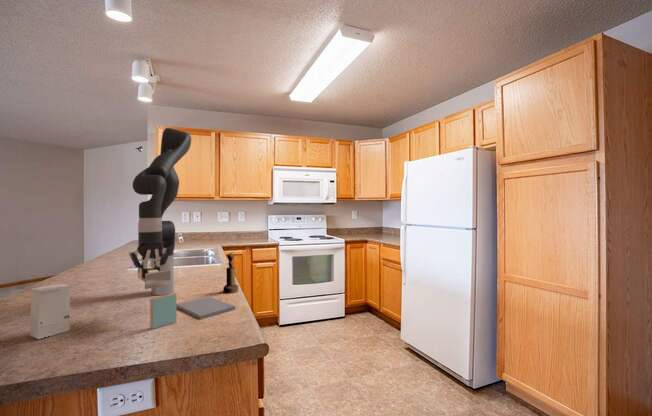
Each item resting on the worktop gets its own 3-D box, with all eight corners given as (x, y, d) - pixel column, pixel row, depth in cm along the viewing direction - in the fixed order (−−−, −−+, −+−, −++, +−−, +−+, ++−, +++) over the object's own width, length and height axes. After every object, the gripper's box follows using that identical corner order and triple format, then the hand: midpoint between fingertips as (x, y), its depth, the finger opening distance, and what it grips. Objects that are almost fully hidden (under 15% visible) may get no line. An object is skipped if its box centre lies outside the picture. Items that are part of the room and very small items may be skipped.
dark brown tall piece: (232, 288, 151) (232, 251, 151) (240, 291, 147) (240, 252, 147) (220, 291, 146) (220, 253, 146) (228, 294, 142) (228, 254, 142)
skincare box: (37, 340, 93) (37, 290, 93) (29, 336, 96) (29, 288, 96) (71, 330, 100) (71, 284, 100) (62, 327, 103) (62, 282, 103)
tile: (150, 328, 102) (149, 298, 102) (174, 321, 108) (174, 292, 108) (151, 329, 101) (151, 298, 101) (176, 322, 107) (176, 293, 107)
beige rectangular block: (130, 278, 115) (130, 265, 115) (153, 275, 121) (153, 262, 121) (145, 289, 105) (146, 274, 105) (170, 284, 111) (170, 270, 111)
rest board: (176, 307, 123) (176, 304, 123) (209, 299, 134) (209, 296, 134) (200, 319, 110) (200, 315, 110) (235, 309, 121) (235, 306, 121)
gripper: (166, 228, 120) (166, 273, 120) (124, 231, 110) (125, 280, 110) (174, 229, 115) (175, 276, 115) (132, 232, 105) (132, 283, 105)
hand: (150, 277), depth 113 cm, fingers closed on beige rectangular block, 3 cm apart
